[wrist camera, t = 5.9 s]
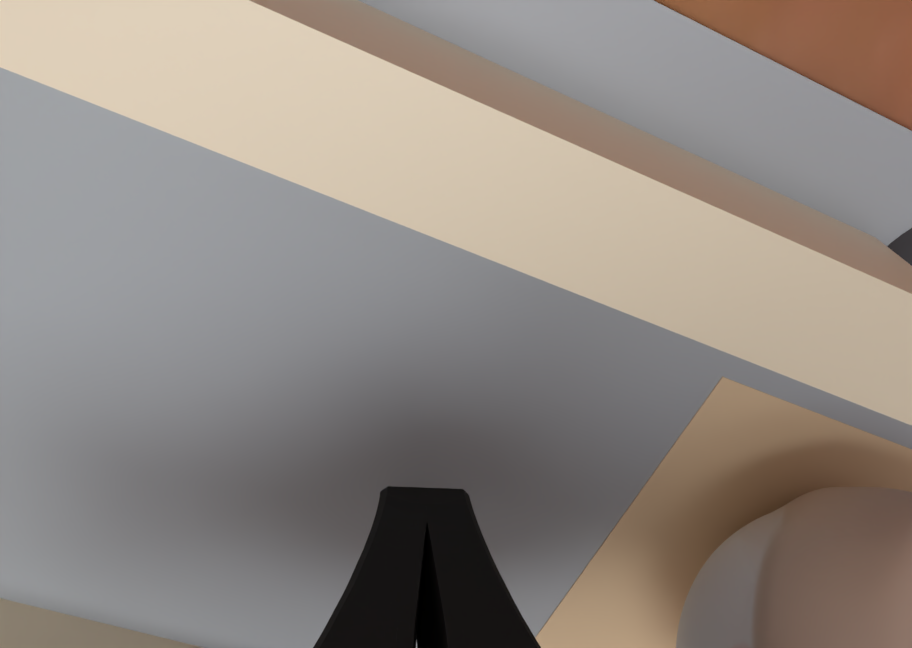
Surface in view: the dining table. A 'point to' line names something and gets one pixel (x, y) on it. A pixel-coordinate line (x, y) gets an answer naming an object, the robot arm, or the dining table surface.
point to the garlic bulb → (810, 577)
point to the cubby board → (423, 306)
